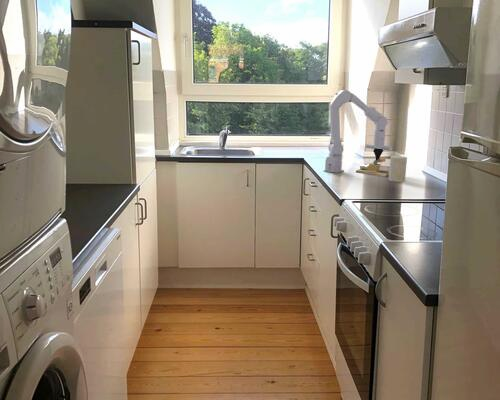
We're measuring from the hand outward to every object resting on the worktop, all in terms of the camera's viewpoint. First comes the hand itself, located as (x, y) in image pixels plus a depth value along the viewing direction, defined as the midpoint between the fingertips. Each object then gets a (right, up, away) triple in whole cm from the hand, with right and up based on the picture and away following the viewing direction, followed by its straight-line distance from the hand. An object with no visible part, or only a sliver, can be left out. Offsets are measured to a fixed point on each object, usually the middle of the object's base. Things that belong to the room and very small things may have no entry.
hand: (377, 162), depth 310 cm
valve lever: (0, 0, -2) cm, 2 cm away
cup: (+4, -11, -24) cm, 27 cm away
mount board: (-3, -6, -4) cm, 8 cm away
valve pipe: (-3, -6, -4) cm, 8 cm away
